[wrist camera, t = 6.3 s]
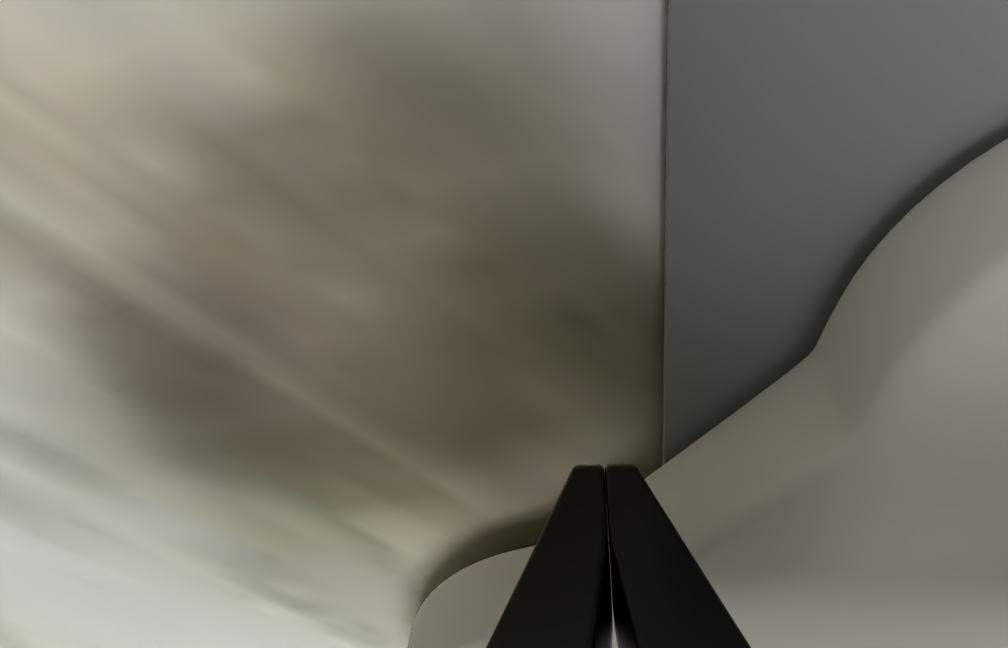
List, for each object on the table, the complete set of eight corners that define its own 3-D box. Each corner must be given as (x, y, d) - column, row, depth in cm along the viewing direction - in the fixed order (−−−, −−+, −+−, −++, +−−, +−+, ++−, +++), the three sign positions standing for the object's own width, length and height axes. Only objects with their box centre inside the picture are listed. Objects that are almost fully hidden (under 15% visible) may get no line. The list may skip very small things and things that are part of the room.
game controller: (352, 641, 16) (608, 755, 19) (324, 742, 15) (612, 854, 17) (1292, -128, 7) (1571, 312, 9) (1574, -122, 5) (1828, 431, 7)
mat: (661, 598, 15) (662, 610, 15) (668, -80, 8) (672, -77, 7) (1057, 597, 14) (1066, 610, 14) (1509, -195, 6) (1546, -197, 6)
